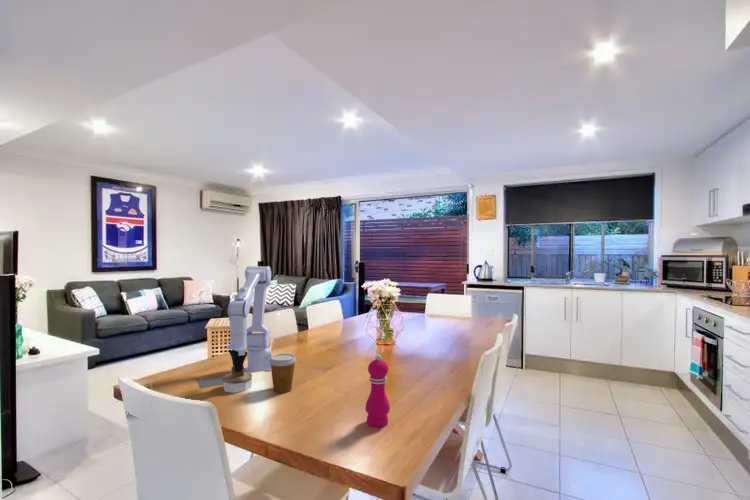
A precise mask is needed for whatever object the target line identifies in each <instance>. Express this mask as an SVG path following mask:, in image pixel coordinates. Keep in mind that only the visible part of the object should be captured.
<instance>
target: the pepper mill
mask: <svg viewBox="0 0 750 500" xmlns="http://www.w3.org/2000/svg"><path fill="white" fill-rule="evenodd" d="M367 372H368V374H369V375H370V376H369V382H370V385H371V386H370V387H371V388H370V392H369V396H367V400H366V403H365V412H366V414H367V415H366V423H367V425H368V426H370V427H372V428H382V427H385V426H387V425H388V424H389V416H388V414H389V413H390V410H391V408H390V401H389V398H388V396H387V395H386V390H385V389H386V388H385V385H386V383H387V376H386V375H387V374H388V373H389V366H388V363H387V362H386V361H385V360H382V356H381V354H376V355H375V359H373V360H372V361H370V362H369V364H368V366H367Z"/></svg>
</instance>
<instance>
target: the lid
mask: <svg viewBox="0 0 750 500" xmlns="http://www.w3.org/2000/svg"><path fill="white" fill-rule="evenodd" d="M230 370H231V372H230V373H226V374H224V375H222V376H223V382H225V383H232V384H235V383H243V382H247V381H249V380H251V379H252V378H253V377H252V376H253V374H252V373H248V372H247V371H245V366H244V365H243V368H242V371H240V372H235V368H234V366H233V365H232V366H231V369H230ZM252 380H253V379H252Z"/></svg>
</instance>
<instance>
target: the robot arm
mask: <svg viewBox="0 0 750 500" xmlns="http://www.w3.org/2000/svg"><path fill="white" fill-rule="evenodd" d="M271 269H272V268H271V267H270V266H269V265H268V266H262V265H261V266H258V265H257V266H254V265H253V266H250V265H248V266H246V268H245V270H244V278H245V282H244V285H243V286H242V287H241V288H239V289H238V291H237V293H236V295H235V297H234V300H232V301H230V302H229V303H228V306H227V315H228V322H229V325H230V326H229V345H226V348H225V349H227V350H229V351H228V352H229V355H230V356H231V361H232V366H234V368H235V372H240V371H242V368H243V366H244V363H245V360H246V358H247V366H244V369H245V368H246V369H245V370H246V372H247V371H248V372H247V373H250V374H252V373H259V372H268V371H267V370H269V371H271V364H270V362H269V361H270V359H271V357H272V350H271V348H270V347H269V346H270V343H271V342H270V341H271V335H270V334H271V332H270V329H269V328H268V327H266V326H265V324H264V321H265V311H266V310H265V307H266V295H267V294H266V293H267V288H268V287H269V286H271V282H272V270H271ZM252 299H253V307H252V319H251V325H250V326H249V327H248V326H247V325H248V316H249V314H250V311H251V310H250V309H251V302H252Z"/></svg>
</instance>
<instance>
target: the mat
mask: <svg viewBox="0 0 750 500" xmlns="http://www.w3.org/2000/svg"><path fill="white" fill-rule="evenodd" d="M223 376H224V375H220V376H213V377H207V378H201V379H197V383H198V387H199V389H203V388H211V387H215V386H222V385H223V386H224V382H223Z"/></svg>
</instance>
